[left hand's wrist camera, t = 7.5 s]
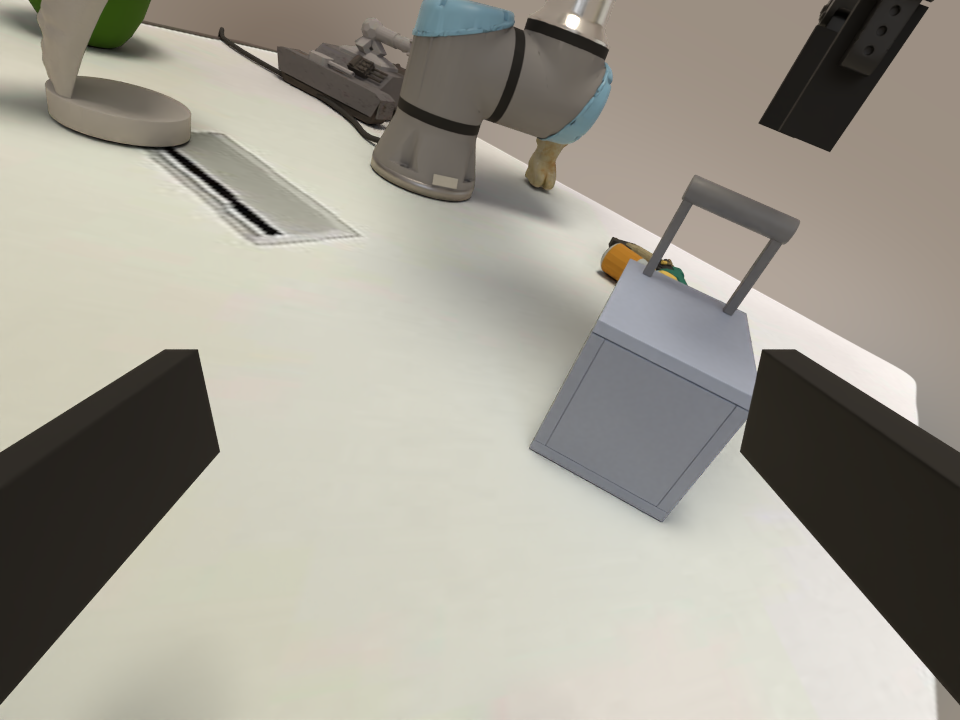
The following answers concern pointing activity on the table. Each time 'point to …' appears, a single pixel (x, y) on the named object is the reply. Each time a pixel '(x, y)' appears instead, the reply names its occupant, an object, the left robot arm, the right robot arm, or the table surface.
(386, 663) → the table surface
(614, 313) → the lid
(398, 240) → the table surface
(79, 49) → the bust sculpture
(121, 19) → the vase
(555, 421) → the chest
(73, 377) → the table surface
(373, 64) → the toy
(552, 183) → the sculpture
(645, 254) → the spray gun
